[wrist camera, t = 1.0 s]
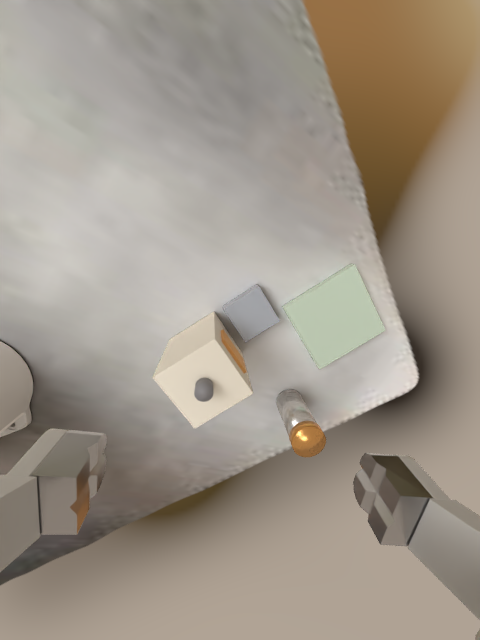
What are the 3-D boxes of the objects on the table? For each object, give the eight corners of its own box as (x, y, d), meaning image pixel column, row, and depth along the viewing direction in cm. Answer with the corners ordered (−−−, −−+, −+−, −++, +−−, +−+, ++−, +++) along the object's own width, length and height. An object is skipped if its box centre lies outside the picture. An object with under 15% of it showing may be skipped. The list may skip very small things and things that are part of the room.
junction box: (199, 378, 43) (193, 438, 30) (169, 339, 40) (149, 385, 27) (244, 351, 42) (258, 399, 29) (216, 309, 40) (218, 341, 27)
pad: (316, 366, 44) (319, 369, 43) (281, 306, 41) (284, 308, 40) (381, 327, 43) (385, 330, 42) (350, 263, 40) (355, 264, 39)
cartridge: (283, 417, 46) (302, 462, 37) (270, 398, 45) (286, 439, 35) (306, 403, 46) (331, 445, 36) (294, 384, 45) (316, 422, 35)
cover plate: (243, 336, 42) (245, 342, 39) (222, 305, 40) (223, 309, 38) (276, 316, 41) (280, 320, 39) (256, 283, 40) (259, 286, 37)
